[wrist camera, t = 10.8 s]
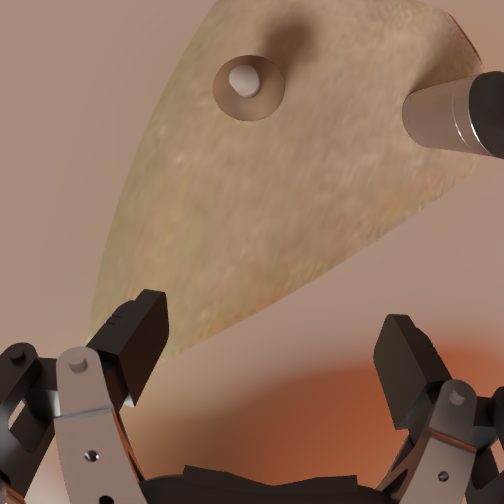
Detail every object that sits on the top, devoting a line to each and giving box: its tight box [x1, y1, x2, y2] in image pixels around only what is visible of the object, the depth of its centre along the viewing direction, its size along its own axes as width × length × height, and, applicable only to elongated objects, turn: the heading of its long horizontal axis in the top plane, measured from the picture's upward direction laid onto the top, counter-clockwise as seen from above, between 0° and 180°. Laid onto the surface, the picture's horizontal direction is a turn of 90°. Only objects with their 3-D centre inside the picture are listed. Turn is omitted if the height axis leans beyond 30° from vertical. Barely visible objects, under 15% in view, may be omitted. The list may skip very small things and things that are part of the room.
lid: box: [213, 55, 285, 121], centre depth 25 cm, size 8×8×5 cm
